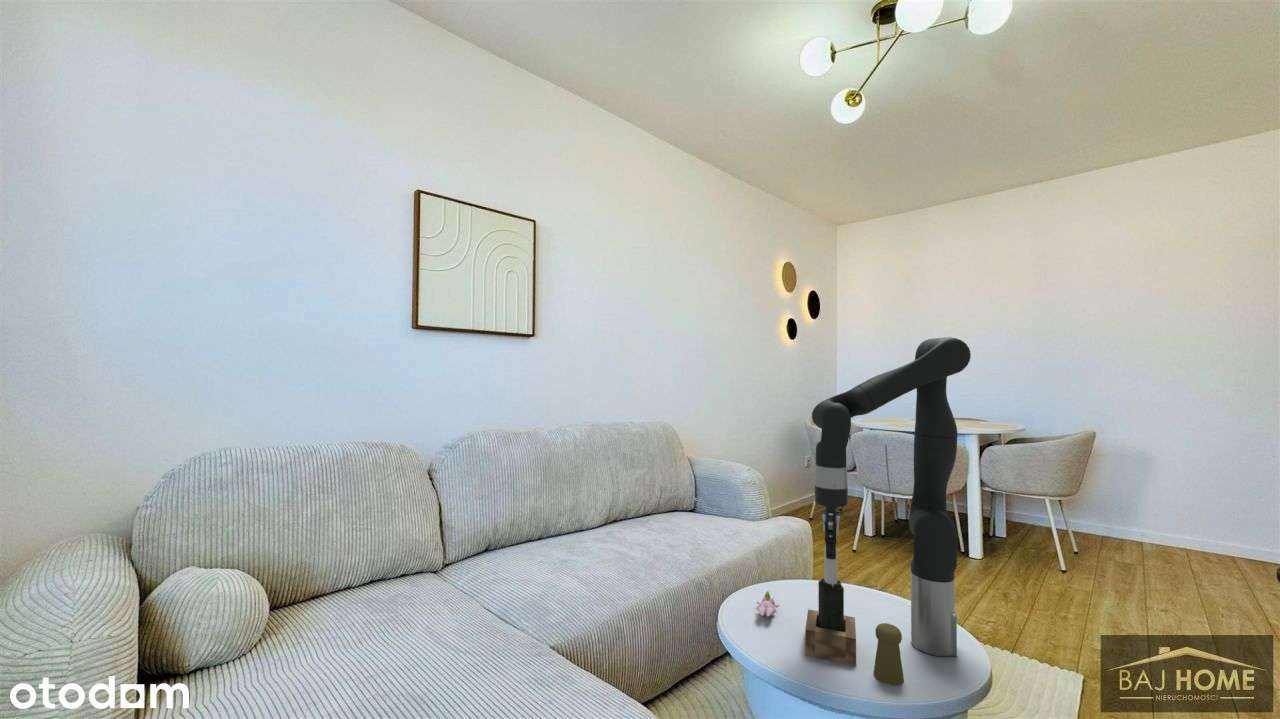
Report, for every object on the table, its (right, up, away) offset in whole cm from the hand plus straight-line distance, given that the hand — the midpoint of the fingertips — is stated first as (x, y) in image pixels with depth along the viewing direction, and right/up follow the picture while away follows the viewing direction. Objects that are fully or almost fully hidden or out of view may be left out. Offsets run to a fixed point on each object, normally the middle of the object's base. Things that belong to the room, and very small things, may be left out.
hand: (831, 555), depth 123 cm
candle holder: (0, -22, -1) cm, 22 cm away
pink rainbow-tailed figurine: (-11, -23, +17) cm, 31 cm away
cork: (+8, -22, -12) cm, 26 cm away
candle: (0, -20, -1) cm, 20 cm away
